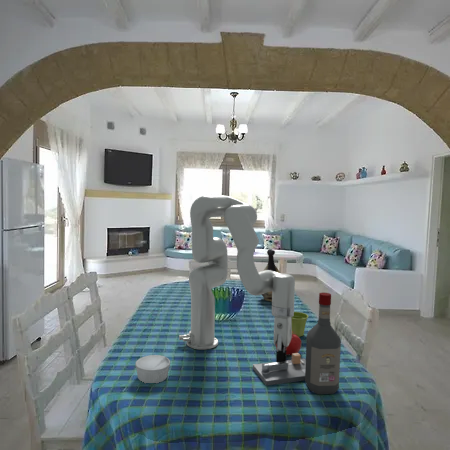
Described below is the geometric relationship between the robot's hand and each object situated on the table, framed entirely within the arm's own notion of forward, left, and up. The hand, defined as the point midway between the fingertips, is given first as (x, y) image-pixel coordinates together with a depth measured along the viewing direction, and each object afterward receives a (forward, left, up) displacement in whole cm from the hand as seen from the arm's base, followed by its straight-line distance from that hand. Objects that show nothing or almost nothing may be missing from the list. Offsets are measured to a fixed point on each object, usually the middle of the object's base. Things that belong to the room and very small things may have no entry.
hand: (281, 361), depth 130 cm
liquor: (+7, -14, -3) cm, 16 cm away
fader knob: (+6, 0, -1) cm, 6 cm away
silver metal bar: (-4, -4, -1) cm, 6 cm away
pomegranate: (+9, +12, -3) cm, 15 cm away
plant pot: (+21, +28, -3) cm, 35 cm away
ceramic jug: (+32, +81, -3) cm, 87 cm away
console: (+1, -3, -3) cm, 4 cm away
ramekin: (-43, +5, -3) cm, 44 cm away
